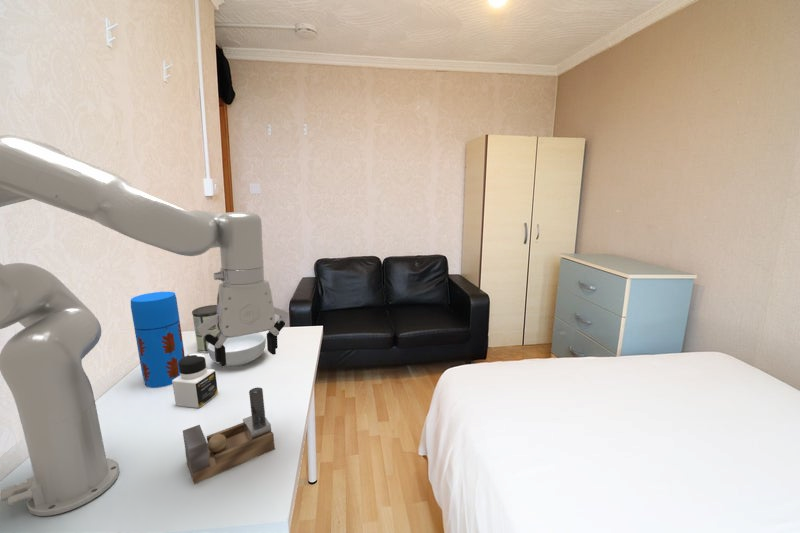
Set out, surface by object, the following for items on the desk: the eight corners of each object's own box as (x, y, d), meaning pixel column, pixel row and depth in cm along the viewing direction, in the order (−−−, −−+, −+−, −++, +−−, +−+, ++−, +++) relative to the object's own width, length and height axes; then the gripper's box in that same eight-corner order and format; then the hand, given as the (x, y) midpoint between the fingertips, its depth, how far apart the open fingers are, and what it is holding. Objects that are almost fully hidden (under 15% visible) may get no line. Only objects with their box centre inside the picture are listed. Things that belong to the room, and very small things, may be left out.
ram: (252, 444, 74) (247, 400, 72) (244, 430, 79) (239, 389, 77) (271, 436, 77) (267, 393, 75) (262, 423, 81) (258, 382, 79)
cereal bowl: (231, 378, 106) (228, 356, 105) (199, 365, 115) (196, 344, 114) (278, 356, 121) (276, 336, 119) (246, 346, 129) (244, 327, 128)
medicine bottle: (199, 408, 91) (193, 364, 89) (175, 406, 93) (168, 362, 91) (218, 393, 98) (213, 352, 96) (195, 391, 100) (190, 350, 97)
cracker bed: (194, 484, 67) (189, 450, 66) (186, 460, 73) (182, 429, 72) (274, 448, 76) (271, 418, 75) (262, 430, 82) (259, 402, 81)
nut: (210, 459, 71) (208, 443, 70) (207, 450, 73) (205, 435, 73) (229, 451, 73) (227, 436, 72) (225, 442, 75) (223, 428, 75)
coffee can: (218, 339, 136) (214, 303, 134) (235, 344, 131) (231, 307, 128) (190, 349, 128) (185, 310, 125) (207, 355, 122) (202, 315, 120)
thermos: (190, 367, 114) (179, 289, 109) (183, 383, 104) (171, 298, 99) (149, 373, 110) (136, 293, 105) (138, 391, 100) (123, 303, 96)
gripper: (197, 285, 63) (204, 377, 66) (293, 274, 74) (296, 354, 77) (189, 277, 69) (196, 362, 72) (280, 268, 80) (282, 343, 83)
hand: (248, 358), depth 74 cm, fingers open, 9 cm apart
